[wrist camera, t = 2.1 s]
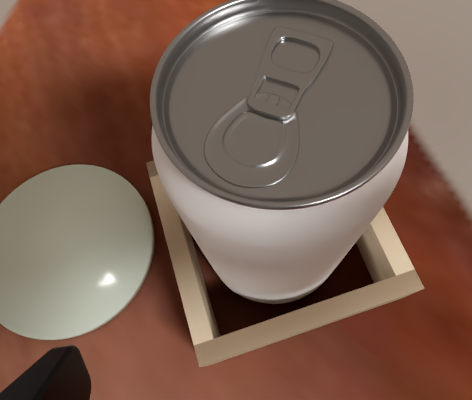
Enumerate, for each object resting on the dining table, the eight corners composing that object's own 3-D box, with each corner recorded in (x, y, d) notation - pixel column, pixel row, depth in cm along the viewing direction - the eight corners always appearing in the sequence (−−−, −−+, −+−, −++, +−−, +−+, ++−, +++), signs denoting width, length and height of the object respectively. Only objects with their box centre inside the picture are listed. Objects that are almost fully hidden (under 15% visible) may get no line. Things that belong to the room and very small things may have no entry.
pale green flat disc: (174, 304, 19) (171, 302, 18) (-10, 366, 18) (-19, 367, 18) (134, 149, 22) (131, 143, 21) (-22, 198, 22) (-30, 194, 21)
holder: (400, 298, 18) (424, 288, 15) (210, 365, 17) (199, 367, 15) (322, 136, 21) (330, 103, 19) (162, 188, 21) (145, 162, 18)
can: (185, 273, 19) (72, 160, 8) (238, 164, 21) (207, -48, 10) (311, 329, 18) (385, 286, 7) (354, 206, 20) (468, 16, 9)
